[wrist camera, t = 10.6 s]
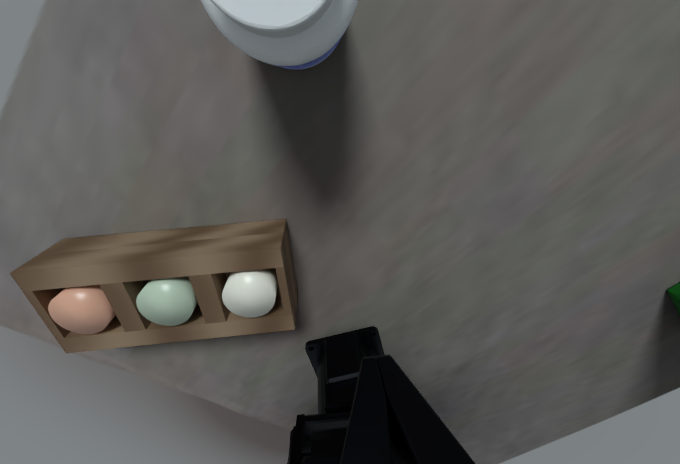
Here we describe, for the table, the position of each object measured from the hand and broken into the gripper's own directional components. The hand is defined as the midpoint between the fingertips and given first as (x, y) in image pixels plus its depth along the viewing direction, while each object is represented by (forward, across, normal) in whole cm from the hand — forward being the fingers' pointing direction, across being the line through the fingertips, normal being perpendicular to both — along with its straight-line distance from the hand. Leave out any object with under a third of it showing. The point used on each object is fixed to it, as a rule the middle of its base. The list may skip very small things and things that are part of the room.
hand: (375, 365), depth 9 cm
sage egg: (+11, +11, +4) cm, 16 cm away
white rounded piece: (+11, +6, +4) cm, 13 cm away
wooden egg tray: (+13, +11, +4) cm, 18 cm away
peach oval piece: (+11, +17, +4) cm, 20 cm away
